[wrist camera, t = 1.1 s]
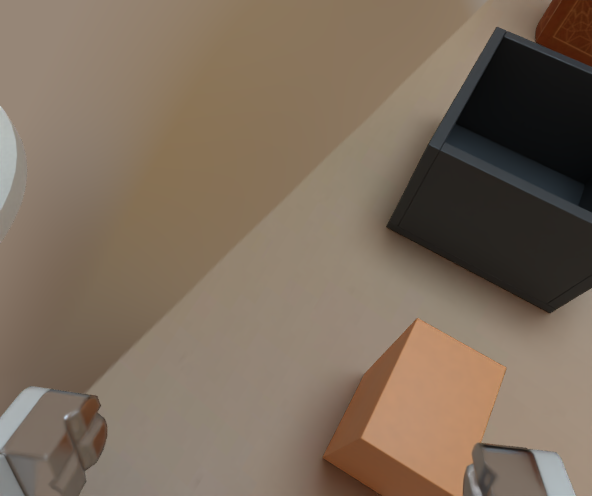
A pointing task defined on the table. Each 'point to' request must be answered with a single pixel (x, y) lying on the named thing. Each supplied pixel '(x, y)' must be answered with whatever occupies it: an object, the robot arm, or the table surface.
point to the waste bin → (511, 175)
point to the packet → (417, 415)
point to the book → (567, 29)
